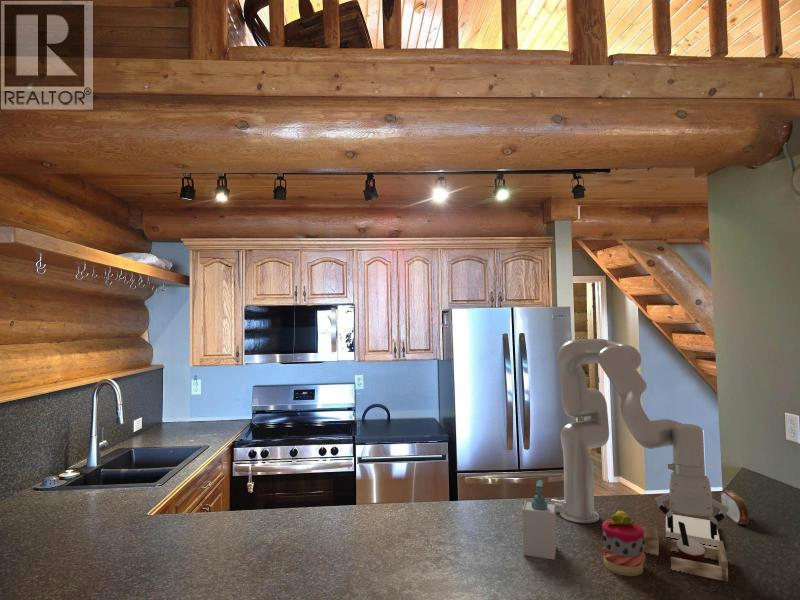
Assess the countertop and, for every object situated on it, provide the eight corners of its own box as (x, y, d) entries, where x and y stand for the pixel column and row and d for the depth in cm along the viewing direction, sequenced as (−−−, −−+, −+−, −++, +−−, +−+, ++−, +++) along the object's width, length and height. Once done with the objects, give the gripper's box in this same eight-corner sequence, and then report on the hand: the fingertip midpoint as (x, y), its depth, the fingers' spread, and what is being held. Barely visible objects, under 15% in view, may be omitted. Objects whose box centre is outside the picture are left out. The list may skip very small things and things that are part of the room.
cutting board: (665, 537, 154) (665, 531, 154) (666, 519, 168) (666, 513, 168) (720, 547, 148) (719, 540, 148) (715, 527, 162) (715, 521, 162)
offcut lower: (639, 553, 145) (639, 544, 145) (640, 542, 152) (639, 533, 152) (658, 556, 143) (658, 547, 143) (658, 545, 150) (658, 537, 150)
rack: (671, 569, 134) (670, 550, 135) (670, 549, 146) (670, 532, 146) (728, 581, 128) (727, 561, 129) (723, 559, 140) (722, 541, 140)
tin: (750, 529, 161) (749, 502, 161) (739, 528, 162) (738, 501, 162) (729, 511, 176) (728, 486, 176) (719, 510, 176) (718, 486, 177)
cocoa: (696, 558, 142) (695, 514, 143) (714, 568, 136) (713, 522, 137) (666, 560, 140) (666, 515, 141) (683, 570, 134) (682, 523, 135)
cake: (596, 557, 142) (595, 503, 142) (634, 557, 141) (633, 503, 142) (610, 576, 131) (610, 517, 132) (652, 577, 131) (651, 518, 131)
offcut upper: (640, 544, 145) (640, 535, 145) (639, 534, 152) (639, 526, 152) (658, 547, 143) (658, 538, 143) (656, 537, 150) (656, 528, 150)
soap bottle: (556, 546, 148) (555, 480, 149) (554, 560, 140) (554, 490, 141) (525, 542, 151) (525, 477, 152) (523, 555, 143) (522, 487, 143)
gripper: (653, 469, 140) (656, 533, 139) (727, 477, 132) (731, 545, 131) (654, 463, 146) (656, 523, 145) (725, 470, 138) (728, 534, 137)
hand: (691, 534), depth 138 cm, fingers open, 9 cm apart
